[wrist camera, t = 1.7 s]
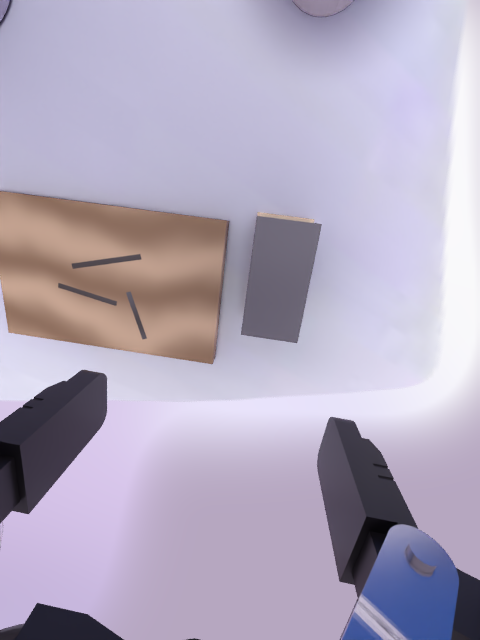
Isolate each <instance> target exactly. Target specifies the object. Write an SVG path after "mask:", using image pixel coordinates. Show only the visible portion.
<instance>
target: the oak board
mask: <svg viewBox="0 0 480 640" xmlns="http://www.w3.org/2000/svg"><path fill="white" fill-rule="evenodd" d="M228 227H229V221H226V220H218V219H211V218H203V217H195V216H188V215H180V214H172V213H165V212H157V211H149V210H142V209H134V208H126V207H119V206H111V205H103V204H96V203H88V202H80V201H73V200H65V199H57V198H50V197H42V196H34V195H27V194H19V193H11V192H4V191H0V279H1V286H2V292H3V299H4V305H5V311H6V318H7V324H8V331H9V333H15V334H22V335H28V336H35V337H41V338H47V339H54V340H60V341H67V342H73V343H80V344H86V345H93V346H99V347H105V348H112V349H118V350H125V351H131V352H138V353H144V354H151V355H157V356H163V357H170V358H176V359H183V360H189V361H196V362H202V363H209V364H213V361H214V359H215V352H216V342H217V333H218V323H219V314H220V304H221V294H222V285H223V275H224V265H225V256H226V246H227V237H228Z"/></svg>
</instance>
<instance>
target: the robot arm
mask: <svg viewBox="0 0 480 640" xmlns="http://www.w3.org/2000/svg"><path fill="white" fill-rule="evenodd" d="M9 1H10V0H0V21H1V20H2V19H3V17H4V15H5V12H6V10H7V8H8V5H9ZM106 413H107V377H106V375H105V374H103V373H98V372H92V371H87V370H81V371H80V372H78V373H77V374H76V375H74V376H73V377H72V378H70V379H69V380H68V381H62V382H60V383H57V384H55V385H53V386H50V387H48V388H46V389H45V390H43V391H42V392H41V393H39V394H38V395H36V396H35V397H34V399H31V400H30V401H28V402H27V403H26V404H24V405H23V407H22V408H19V409H17V410H16V411H15V412H13V413H12V414H11V415H9V416H8V417H7V418H5V419H4V420H2V421H1V422H0V548H1V539H2V533H3V522H2V521H3V520H4V519H5V518H6V517H7V515H8V514H9V513H10V512H11V511H16V512H21V513H25V514H29V513H30V512H31V511H32V510H33V508H34V507H35V506H36V505H37V504H38V502H39V501H40V500H41V499H42V498H43V496H44V495H45V494H46V492H48V490H49V489H50V488H51V487H52V485H53V484H54V483H55V482H56V481H57V480H58V478H59V477H60V476H61V475H62V474H63V472H64V471H65V470H66V469H67V467H68V466H69V465H70V464H71V463H72V461H73V460H74V459H75V458H76V457H77V455H78V454H79V453H80V452H81V450H82V449H83V448H84V447H85V446H86V445H87V443H88V442H89V441H90V440H91V439H92V437H93V436H94V435H95V434H96V433H97V431H98V430H99V429H100V428H101V426H102V424H103V422H104V420H105V417H106ZM317 467H318V474H319V480H320V485H321V490H322V494H323V500H324V505H325V510H326V515H327V520H328V525H329V530H330V535H331V540H332V545H333V551H334V556H335V561H336V566H337V571H338V576H339V581H340V582H344V583H349V584H354V585H355V588H356V592H357V596H358V599H357V601H356V604H355V606H354V608H353V610H352V613H351V615H350V617H349V619H348V622H347V624H346V626H345V628H344V631H343V633H342V635H341V638H340V640H480V580H478V579H476V578H474V577H472V576H470V575H468V574H466V573H464V572H462V571H460V570H459V569H457V568H456V567H455V565H454V563H453V561H452V560H451V558H450V557H449V555H448V554H447V553H446V551H445V550H444V549H443V548H442V547H441V546H440V545H439V544H438V543H437V542H436V541H435V540H434V539H433V538H431V537H430V536H429V535H427V534H426V533H424V532H423V531H421V530H419V529H418V527H417V525H416V523H415V521H414V519H413V517H412V515H411V513H410V511H409V509H408V507H407V505H406V503H405V501H404V499H403V497H402V495H401V492H400V490H399V488H398V486H397V485H396V482H395V481H393V476H392V474H391V472H390V470H389V469H388V466H387V464H386V462H385V460H384V458H383V456H382V454H381V452H380V451H379V450H378V449H377V448H376V447H375V446H374V444H373V443H372V442H371V441H370V440H369V439H364V438H361V435H360V433H359V431H358V428H357V426H356V424H355V422H354V421H351V420H345V419H340V418H335V417H330V418H329V420H328V423H327V427H326V430H325V433H324V436H323V440H322V443H321V446H320V450H319V453H318V461H317ZM0 640H123V639H122V638H121V637H119V636H118V635H116V634H115V633H113V632H112V631H111V630H109V629H108V628H106V627H105V626H103V625H102V624H100V623H99V622H98V621H96V620H95V619H93V618H92V617H90V616H89V615H88V614H84V613H79V612H75V611H70V610H66V609H61V608H57V607H52V606H48V605H44V604H39V603H37V604H36V606H35V608H34V609H33V611H32V612H31V614H30V616H29V618H28V619H27V621H26V622H25V624H19V625H16V626H12V627H8V628H5V629H2V630H0ZM188 640H199V639H188Z"/></svg>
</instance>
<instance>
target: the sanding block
mask: <svg viewBox="0 0 480 640" xmlns="http://www.w3.org/2000/svg"><path fill="white" fill-rule="evenodd" d="M321 225H322V224H317V223H314V219H307V218H299V217H291V216H283V215H276V214H268V213H260V212H258V214H257V220H256V227H255V235H254V242H253V249H252V257H251V264H250V272H249V279H248V287H247V294H246V301H245V309H244V316H243V324H242V331H241V335H247V336H254V337H260V338H267V339H274V340H280V341H287V342H293V343H297V341H298V337H299V332H300V327H301V322H302V317H303V312H304V308H305V303H306V298H307V293H308V288H309V283H310V279H311V274H312V269H313V264H314V259H315V254H316V250H317V245H318V240H319V235H320V230H321Z"/></svg>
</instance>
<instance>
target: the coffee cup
mask: <svg viewBox="0 0 480 640" xmlns="http://www.w3.org/2000/svg"><path fill="white" fill-rule="evenodd" d="M353 1H354V0H293V2H294V3H295V5H297V6H298V7H299V8H300V9H301V10H302V11H304V12H305V13H307V14H309V15H313V16H316V17H326V16H331V15H334V14H336V13H338V12H340V11H342V10H344V9H345V8H346V7H348V6H349V5H350V4H351V3H352V2H353Z"/></svg>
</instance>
